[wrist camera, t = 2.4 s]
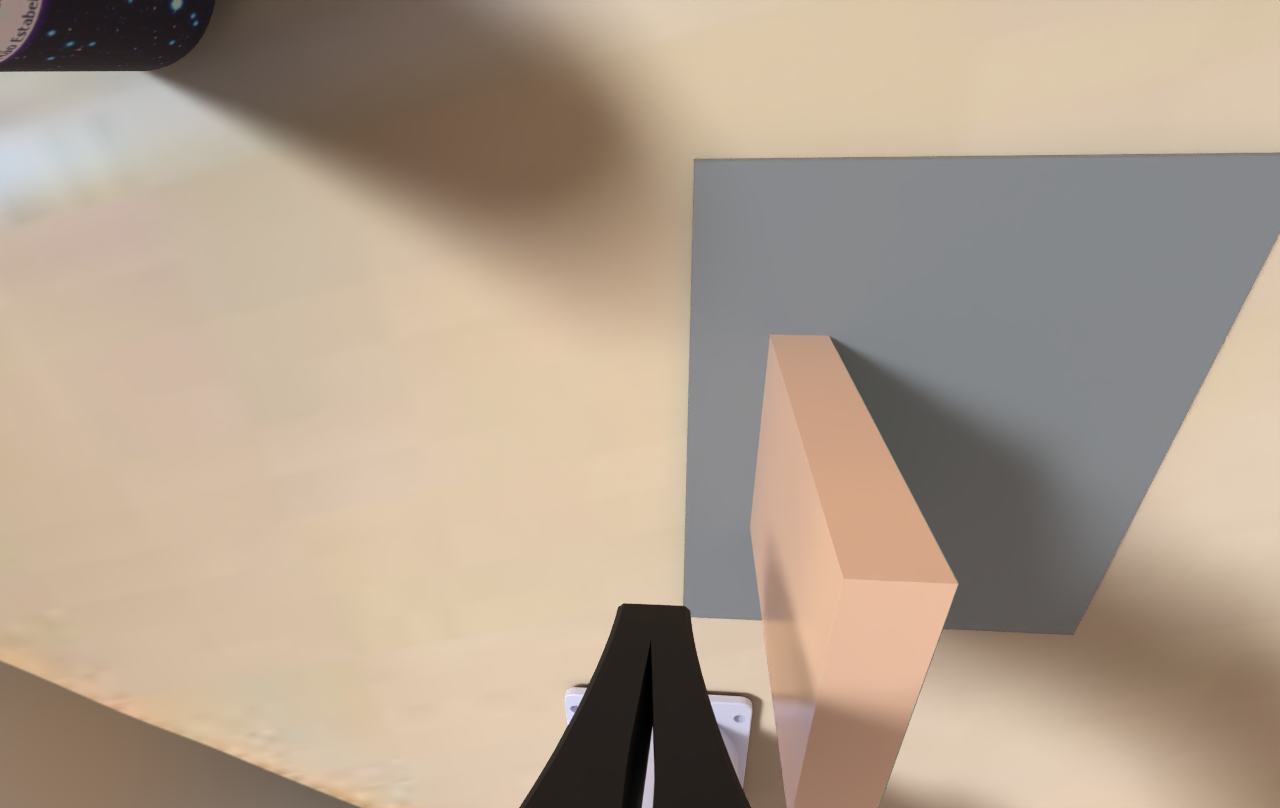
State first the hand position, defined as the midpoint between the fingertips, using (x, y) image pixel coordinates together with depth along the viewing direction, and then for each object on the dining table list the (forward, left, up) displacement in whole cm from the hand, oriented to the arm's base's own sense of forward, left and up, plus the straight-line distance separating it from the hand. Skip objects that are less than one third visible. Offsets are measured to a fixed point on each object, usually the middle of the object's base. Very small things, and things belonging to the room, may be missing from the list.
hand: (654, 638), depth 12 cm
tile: (0, -4, -7) cm, 8 cm away
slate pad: (0, -8, -8) cm, 11 cm away
